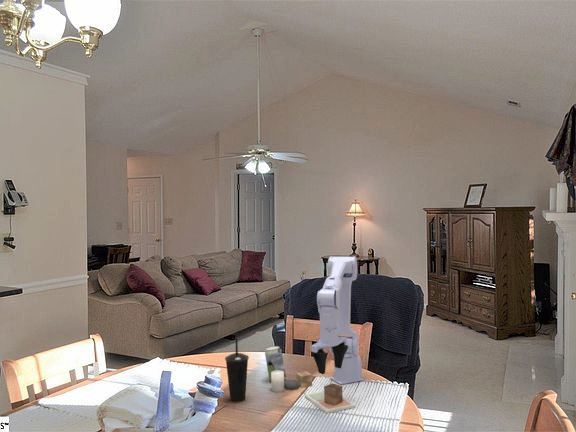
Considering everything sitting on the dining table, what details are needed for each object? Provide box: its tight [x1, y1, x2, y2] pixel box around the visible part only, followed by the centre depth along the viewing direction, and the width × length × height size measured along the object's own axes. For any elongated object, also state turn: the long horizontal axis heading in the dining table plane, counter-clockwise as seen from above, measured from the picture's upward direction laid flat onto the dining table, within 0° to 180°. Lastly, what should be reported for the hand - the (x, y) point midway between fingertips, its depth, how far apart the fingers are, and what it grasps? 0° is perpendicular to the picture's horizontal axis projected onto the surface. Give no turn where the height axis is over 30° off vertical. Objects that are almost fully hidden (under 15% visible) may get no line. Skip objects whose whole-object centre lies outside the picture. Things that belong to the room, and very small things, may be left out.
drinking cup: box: [224, 337, 250, 403], centre depth 164 cm, size 8×8×20 cm
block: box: [323, 383, 344, 406], centre depth 157 cm, size 4×4×5 cm
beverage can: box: [264, 346, 287, 381], centre depth 181 cm, size 6×7×12 cm
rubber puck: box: [284, 379, 300, 391], centre depth 174 cm, size 5×5×2 cm
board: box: [304, 390, 356, 414], centre depth 160 cm, size 10×15×1 cm, turn 24°
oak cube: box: [295, 371, 313, 388], centre depth 176 cm, size 4×4×4 cm
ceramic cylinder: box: [270, 370, 285, 393], centre depth 172 cm, size 4×4×6 cm
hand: (330, 370), depth 159 cm, fingers open, 7 cm apart
